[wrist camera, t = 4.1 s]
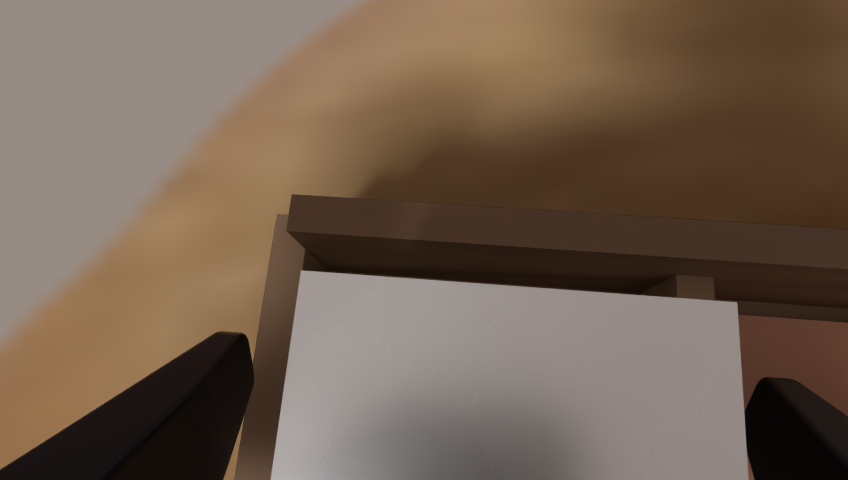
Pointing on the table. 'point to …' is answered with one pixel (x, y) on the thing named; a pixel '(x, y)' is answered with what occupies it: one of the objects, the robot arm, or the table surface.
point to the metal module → (507, 384)
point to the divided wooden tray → (565, 280)
